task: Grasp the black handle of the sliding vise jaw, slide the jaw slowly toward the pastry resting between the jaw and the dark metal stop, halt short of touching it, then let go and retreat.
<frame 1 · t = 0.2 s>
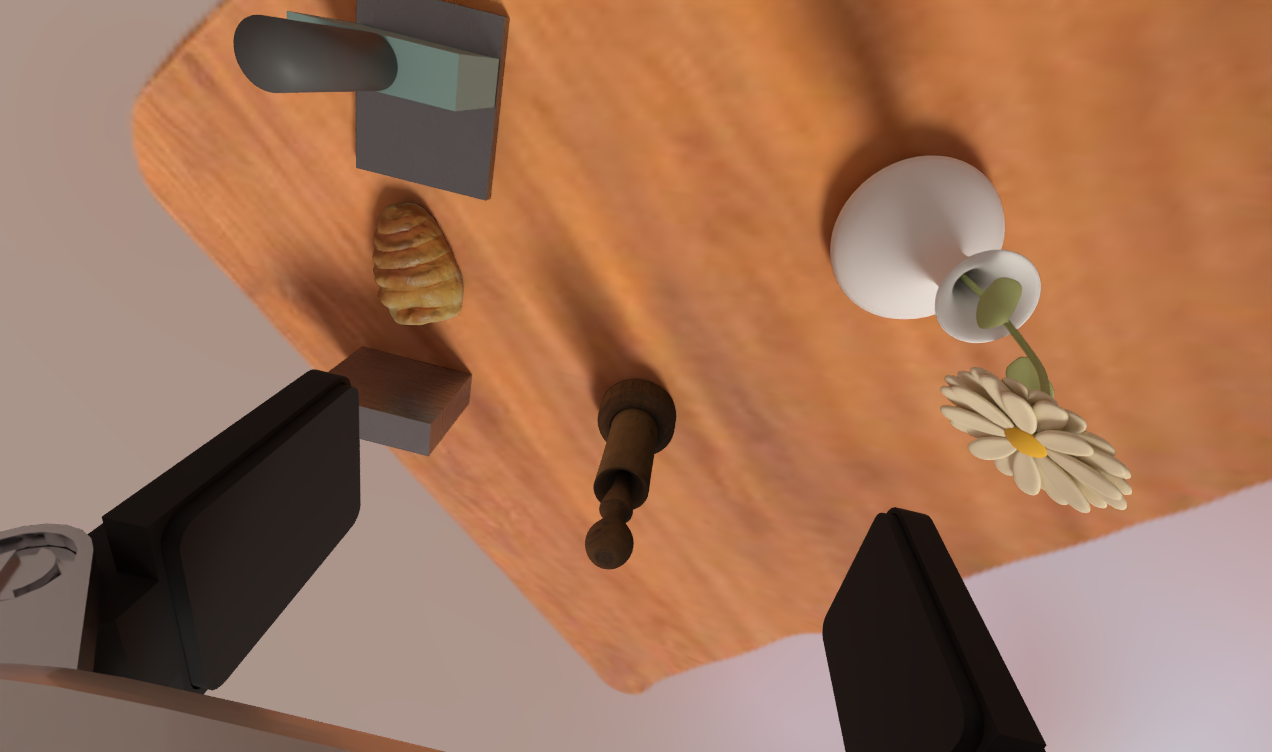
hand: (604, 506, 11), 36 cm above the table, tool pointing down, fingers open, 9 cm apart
flower in vase: (908, 246, 43), on the table
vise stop: (416, 375, 53), on the table
vise jaw: (363, 61, 33), point 9 cm above the table, slide at 0.0 cm
pastry: (423, 268, 48), on the table
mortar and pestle: (638, 410, 52), on the table
vise rail: (431, 97, 42), on the table
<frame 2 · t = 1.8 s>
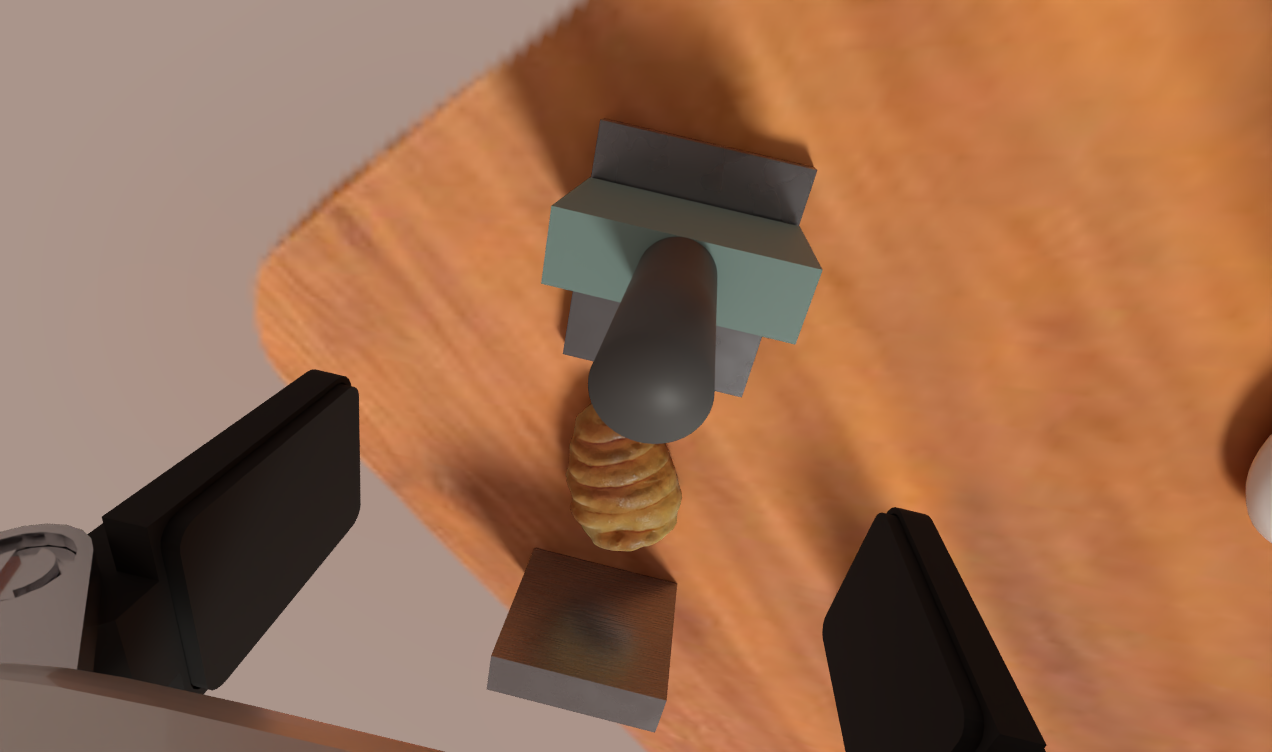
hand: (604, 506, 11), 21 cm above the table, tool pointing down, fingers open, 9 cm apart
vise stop: (601, 581, 41), on the table
vise jaw: (674, 285, 21), point 9 cm above the table, slide at 0.0 cm
pastry: (622, 464, 37), on the table
vise rail: (678, 265, 30), on the table
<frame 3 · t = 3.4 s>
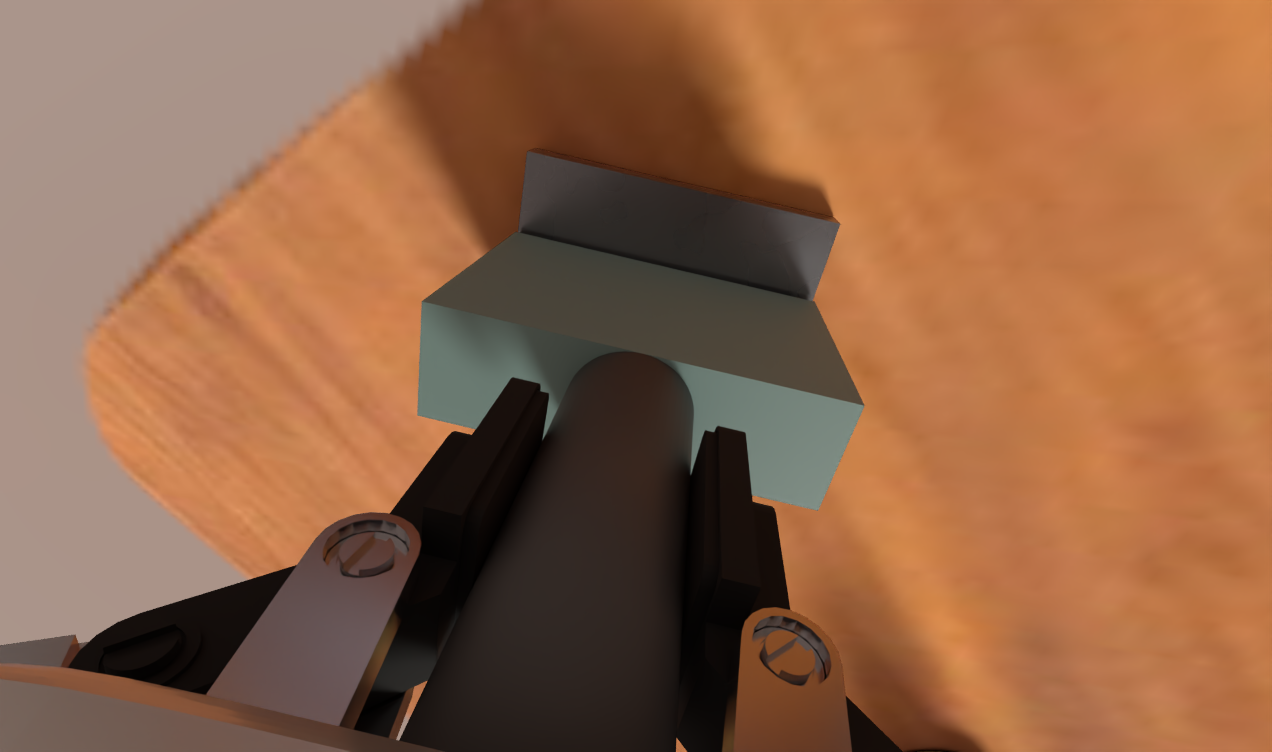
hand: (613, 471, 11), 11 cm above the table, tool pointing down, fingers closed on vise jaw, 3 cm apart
vise jaw: (623, 433, 13), point 9 cm above the table, slide at 0.0 cm, touching gripper
vise rail: (646, 346, 22), on the table
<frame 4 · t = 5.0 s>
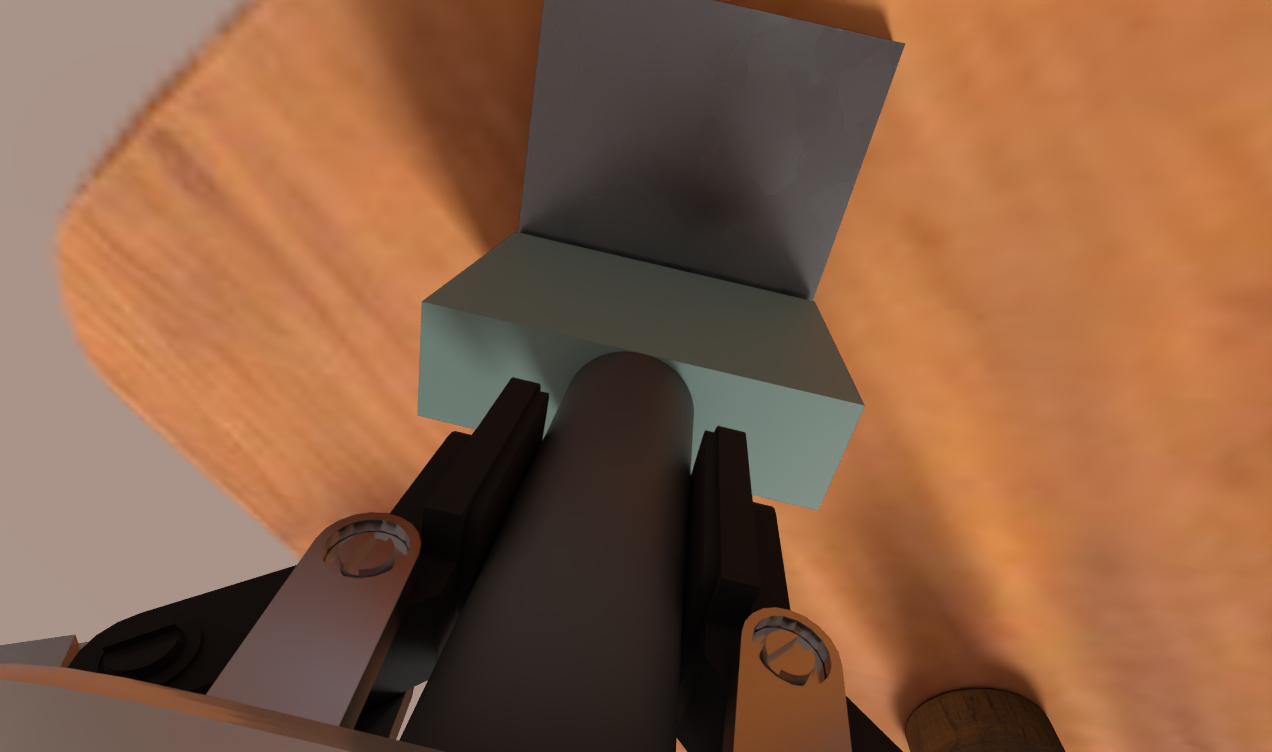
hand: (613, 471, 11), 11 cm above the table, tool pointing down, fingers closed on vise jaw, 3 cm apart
vise jaw: (623, 433, 13), point 9 cm above the table, slide at 5.0 cm, touching gripper
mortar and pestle: (973, 726, 29), on the table
vise rail: (677, 214, 20), on the table
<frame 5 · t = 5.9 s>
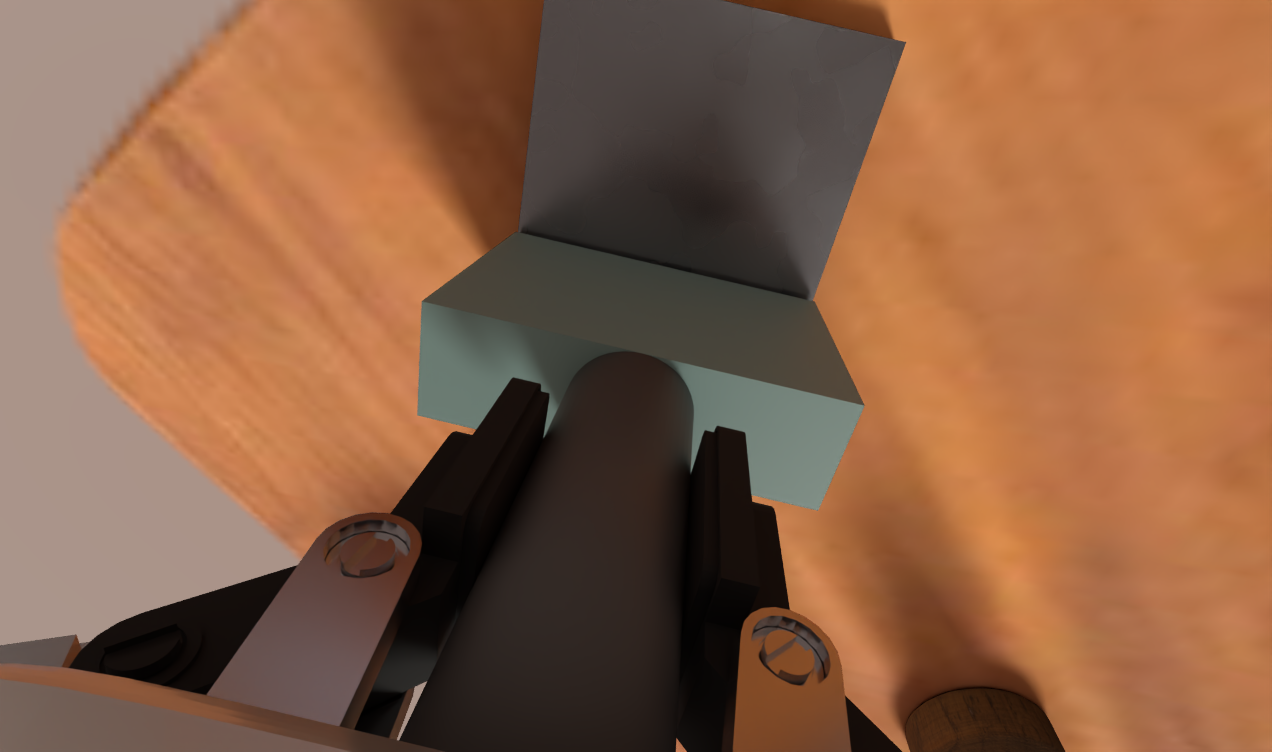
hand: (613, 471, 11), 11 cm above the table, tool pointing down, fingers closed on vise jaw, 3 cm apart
vise jaw: (623, 433, 13), point 9 cm above the table, slide at 5.0 cm, touching gripper
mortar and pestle: (973, 726, 29), on the table
vise rail: (677, 213, 20), on the table
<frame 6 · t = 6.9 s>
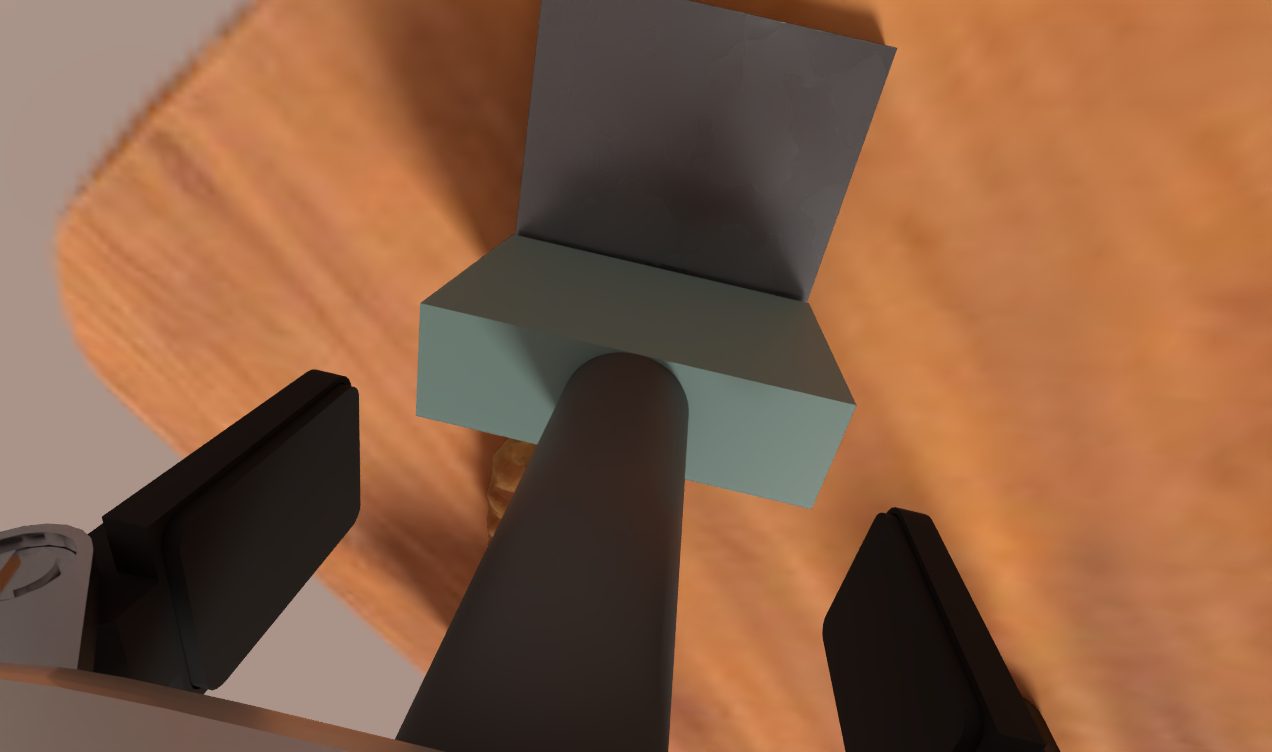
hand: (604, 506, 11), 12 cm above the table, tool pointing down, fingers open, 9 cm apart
vise jaw: (619, 433, 13), point 9 cm above the table, slide at 5.0 cm
pastry: (569, 515, 27), on the table
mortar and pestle: (968, 724, 29), on the table
vise rail: (673, 215, 20), on the table
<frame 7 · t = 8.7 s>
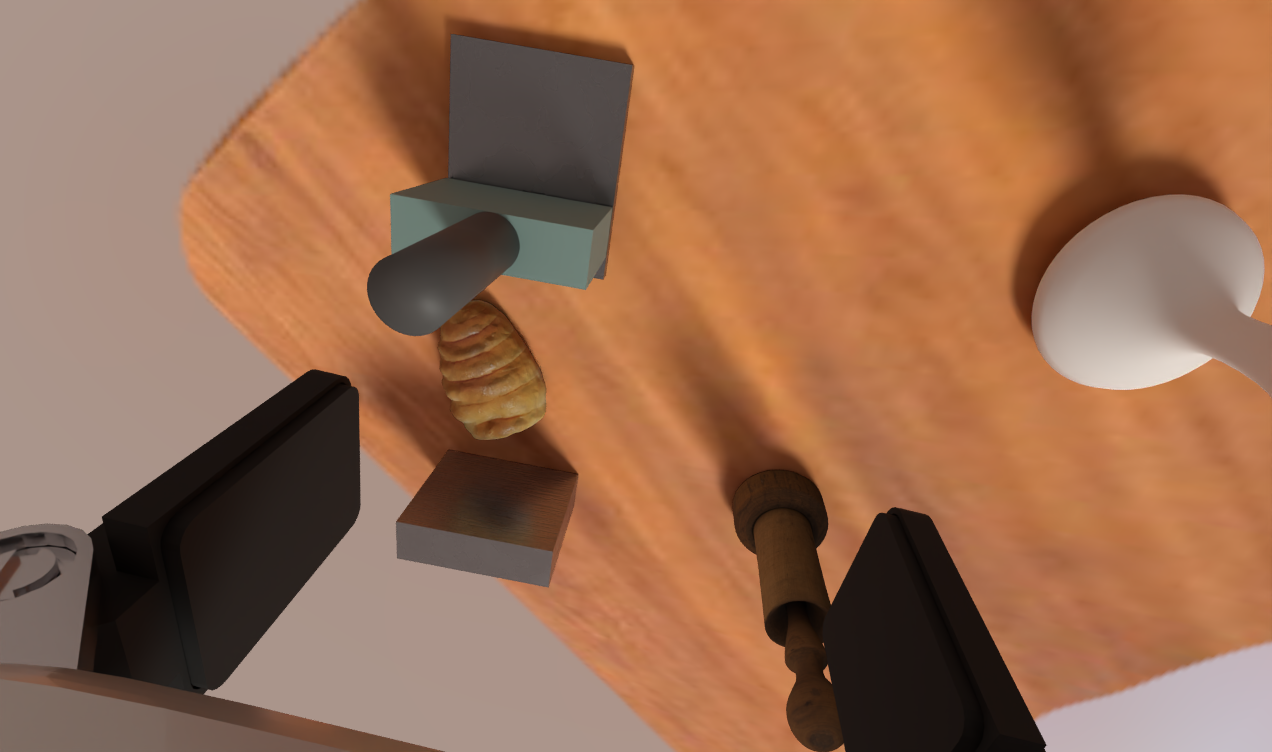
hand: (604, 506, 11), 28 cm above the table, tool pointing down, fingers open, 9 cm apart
flower in vase: (1120, 301, 36), on the table
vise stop: (511, 478, 45), on the table
vise jaw: (483, 247, 28), point 9 cm above the table, slide at 5.0 cm
pastry: (495, 369, 42), on the table
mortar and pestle: (776, 504, 44), on the table
vise rail: (536, 163, 35), on the table
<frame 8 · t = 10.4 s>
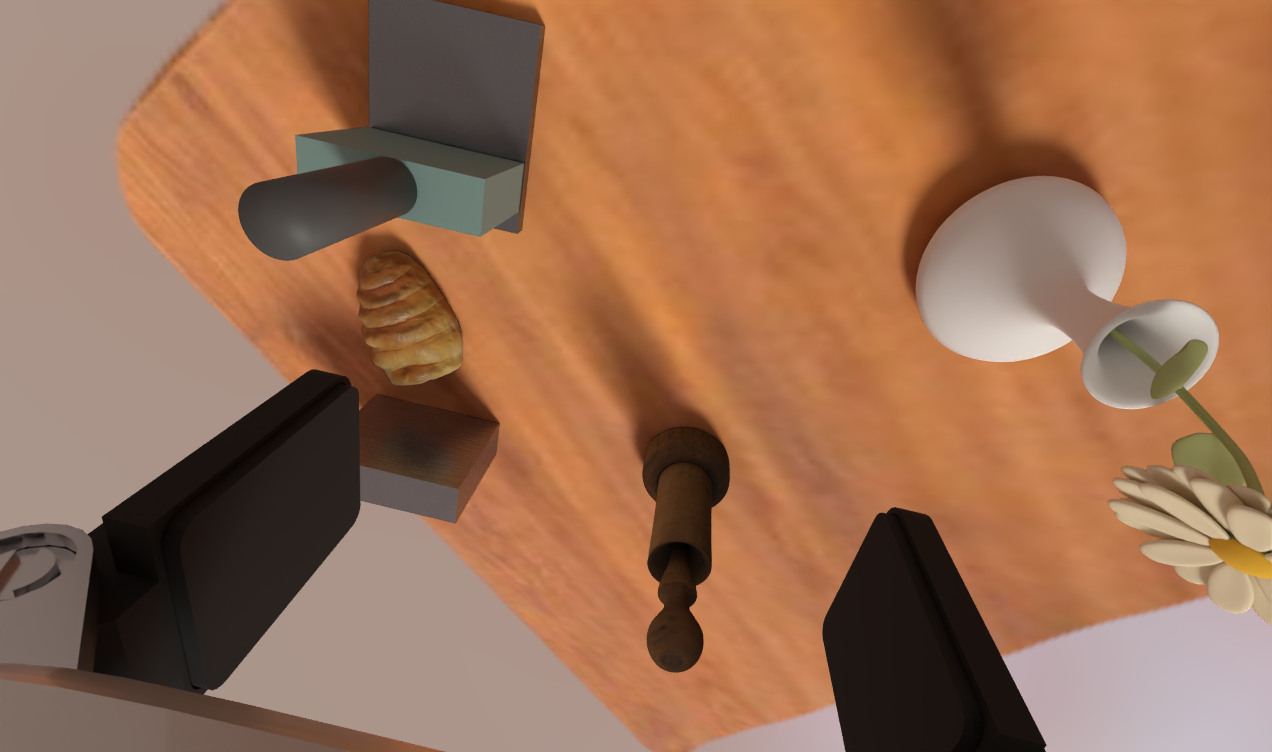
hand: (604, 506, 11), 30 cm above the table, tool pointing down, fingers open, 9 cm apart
flower in vase: (1003, 278, 38), on the table
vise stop: (437, 424, 47), on the table
vise jaw: (380, 189, 30), point 9 cm above the table, slide at 5.0 cm
pastry: (417, 320, 44), on the table
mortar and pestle: (686, 460, 46), on the table
vise rail: (454, 118, 37), on the table
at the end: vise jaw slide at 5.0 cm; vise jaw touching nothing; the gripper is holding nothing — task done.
